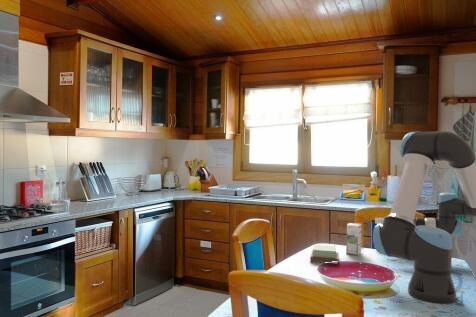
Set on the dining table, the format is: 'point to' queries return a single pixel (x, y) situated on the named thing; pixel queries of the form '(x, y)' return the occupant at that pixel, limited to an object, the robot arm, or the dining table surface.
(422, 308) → the dining table surface
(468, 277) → the dining table surface
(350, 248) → the syrup box
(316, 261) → the walnut slab
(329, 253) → the sage slab
